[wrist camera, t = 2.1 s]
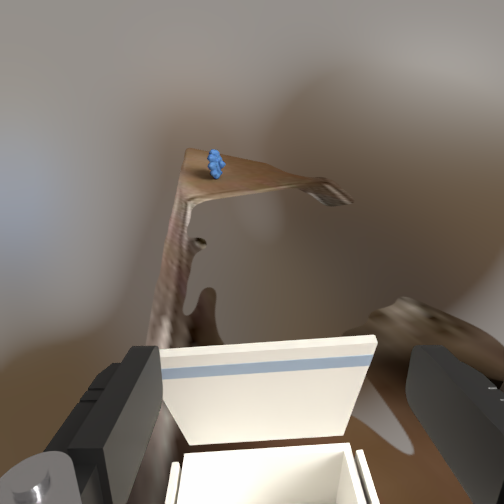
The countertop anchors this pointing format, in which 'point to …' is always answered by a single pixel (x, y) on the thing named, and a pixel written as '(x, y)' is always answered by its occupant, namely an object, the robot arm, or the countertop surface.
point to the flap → (265, 388)
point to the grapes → (215, 163)
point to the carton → (273, 477)
